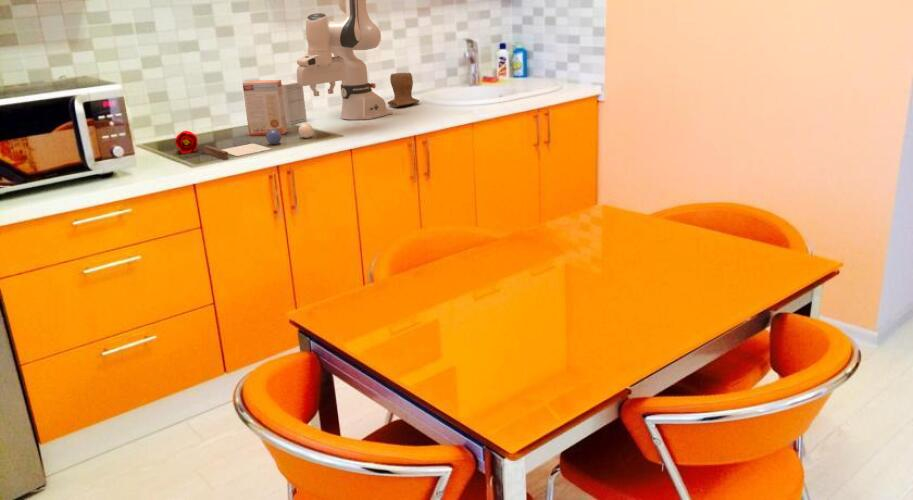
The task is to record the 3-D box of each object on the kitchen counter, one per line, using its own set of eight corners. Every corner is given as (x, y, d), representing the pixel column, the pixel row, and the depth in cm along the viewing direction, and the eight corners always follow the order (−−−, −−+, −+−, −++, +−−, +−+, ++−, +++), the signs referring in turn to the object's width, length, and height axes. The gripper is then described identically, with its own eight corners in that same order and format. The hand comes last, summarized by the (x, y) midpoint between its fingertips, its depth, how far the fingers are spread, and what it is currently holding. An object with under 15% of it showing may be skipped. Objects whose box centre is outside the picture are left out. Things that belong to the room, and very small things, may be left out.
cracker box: (287, 132, 326) (281, 79, 319) (283, 135, 320) (277, 81, 313) (253, 132, 327) (247, 80, 320) (248, 135, 322) (241, 82, 315)
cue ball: (309, 135, 318) (307, 121, 316) (316, 137, 314) (315, 123, 312) (296, 138, 314) (295, 123, 312) (304, 140, 310) (302, 125, 308)
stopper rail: (208, 152, 297) (207, 145, 296) (228, 158, 286) (227, 151, 285) (204, 152, 296) (203, 146, 295) (224, 159, 285) (223, 152, 284)
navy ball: (277, 141, 309) (275, 127, 307) (284, 143, 305) (283, 129, 303) (264, 144, 306) (262, 129, 304) (271, 146, 302) (270, 131, 300)
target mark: (253, 143, 307) (253, 143, 307) (272, 149, 297) (272, 148, 297) (219, 150, 299) (219, 150, 299) (237, 156, 289) (236, 155, 289)
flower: (200, 133, 304) (200, 137, 296) (194, 153, 305) (194, 157, 298) (179, 126, 301) (178, 130, 293) (173, 146, 302) (172, 150, 295)
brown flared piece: (405, 101, 381) (403, 69, 376) (423, 104, 373) (421, 71, 368) (381, 107, 371) (378, 73, 366) (398, 109, 363) (396, 75, 358)
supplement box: (295, 118, 352) (290, 79, 346) (307, 121, 345) (303, 81, 340) (276, 122, 345) (271, 82, 340) (288, 125, 339) (283, 84, 333)
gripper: (338, 54, 318) (341, 90, 323) (292, 60, 306) (296, 97, 311) (347, 55, 314) (350, 91, 319) (301, 61, 301) (305, 99, 306)
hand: (323, 94), depth 315 cm, fingers open, 5 cm apart
